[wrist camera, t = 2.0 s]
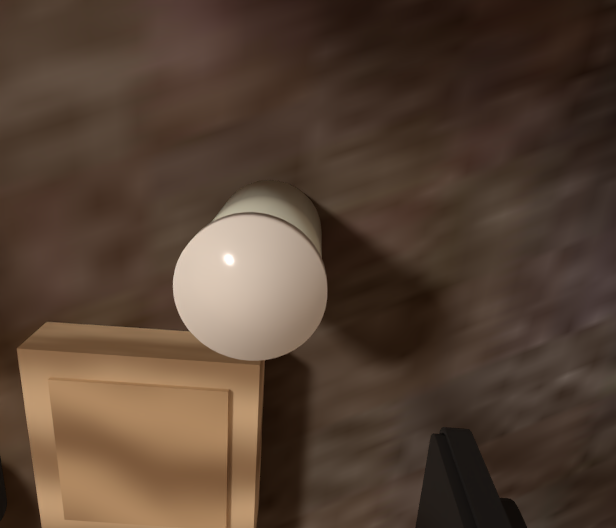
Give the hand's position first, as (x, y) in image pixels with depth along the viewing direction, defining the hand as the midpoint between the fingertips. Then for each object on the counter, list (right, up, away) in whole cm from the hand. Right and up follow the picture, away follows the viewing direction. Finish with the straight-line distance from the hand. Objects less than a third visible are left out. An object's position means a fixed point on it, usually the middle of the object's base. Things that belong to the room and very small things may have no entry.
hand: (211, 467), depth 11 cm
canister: (0, +6, +15) cm, 17 cm away
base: (-7, -5, +19) cm, 21 cm away
